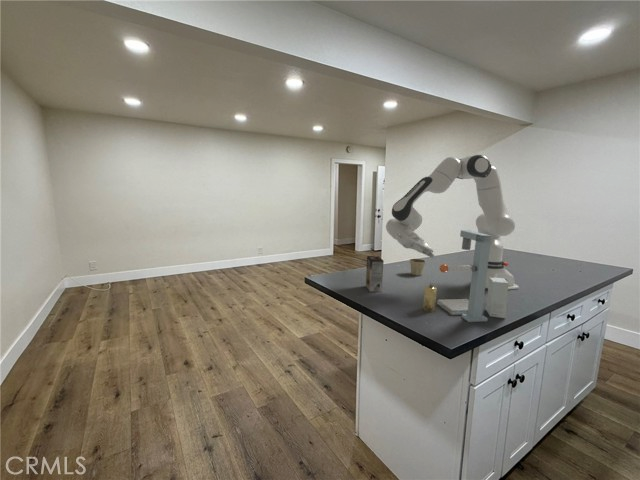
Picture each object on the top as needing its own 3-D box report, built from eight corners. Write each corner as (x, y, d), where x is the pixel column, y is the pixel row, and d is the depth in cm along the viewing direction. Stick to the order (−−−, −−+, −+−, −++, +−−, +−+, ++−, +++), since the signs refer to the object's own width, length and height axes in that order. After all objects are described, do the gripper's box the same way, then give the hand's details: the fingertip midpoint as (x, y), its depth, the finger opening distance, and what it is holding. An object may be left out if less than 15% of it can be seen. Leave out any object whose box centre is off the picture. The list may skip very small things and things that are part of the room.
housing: (431, 307, 130) (433, 282, 128) (436, 311, 125) (439, 285, 123) (421, 307, 129) (423, 282, 127) (426, 312, 125) (428, 285, 123)
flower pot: (425, 277, 175) (426, 262, 173) (409, 275, 177) (410, 261, 175) (423, 272, 184) (424, 259, 182) (407, 271, 186) (408, 258, 184)
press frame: (465, 306, 132) (473, 230, 126) (487, 321, 117) (498, 235, 111) (448, 307, 131) (455, 230, 125) (468, 321, 116) (478, 235, 110)
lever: (471, 270, 117) (472, 262, 117) (476, 273, 114) (477, 265, 113) (437, 271, 115) (438, 263, 115) (441, 273, 112) (442, 265, 112)
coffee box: (365, 285, 157) (366, 255, 154) (377, 285, 158) (378, 255, 155) (369, 291, 148) (371, 260, 145) (382, 291, 149) (384, 260, 146)
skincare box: (505, 319, 120) (510, 283, 117) (488, 316, 122) (492, 281, 119) (500, 311, 127) (505, 277, 125) (484, 309, 129) (488, 276, 127)
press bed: (466, 303, 136) (466, 298, 135) (483, 314, 124) (484, 309, 124) (437, 303, 134) (437, 299, 134) (452, 315, 122) (452, 310, 122)
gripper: (399, 227, 141) (417, 241, 131) (424, 239, 153) (443, 254, 142) (391, 238, 143) (409, 253, 132) (416, 249, 155) (435, 264, 144)
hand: (427, 253), depth 137 cm, fingers open, 8 cm apart
